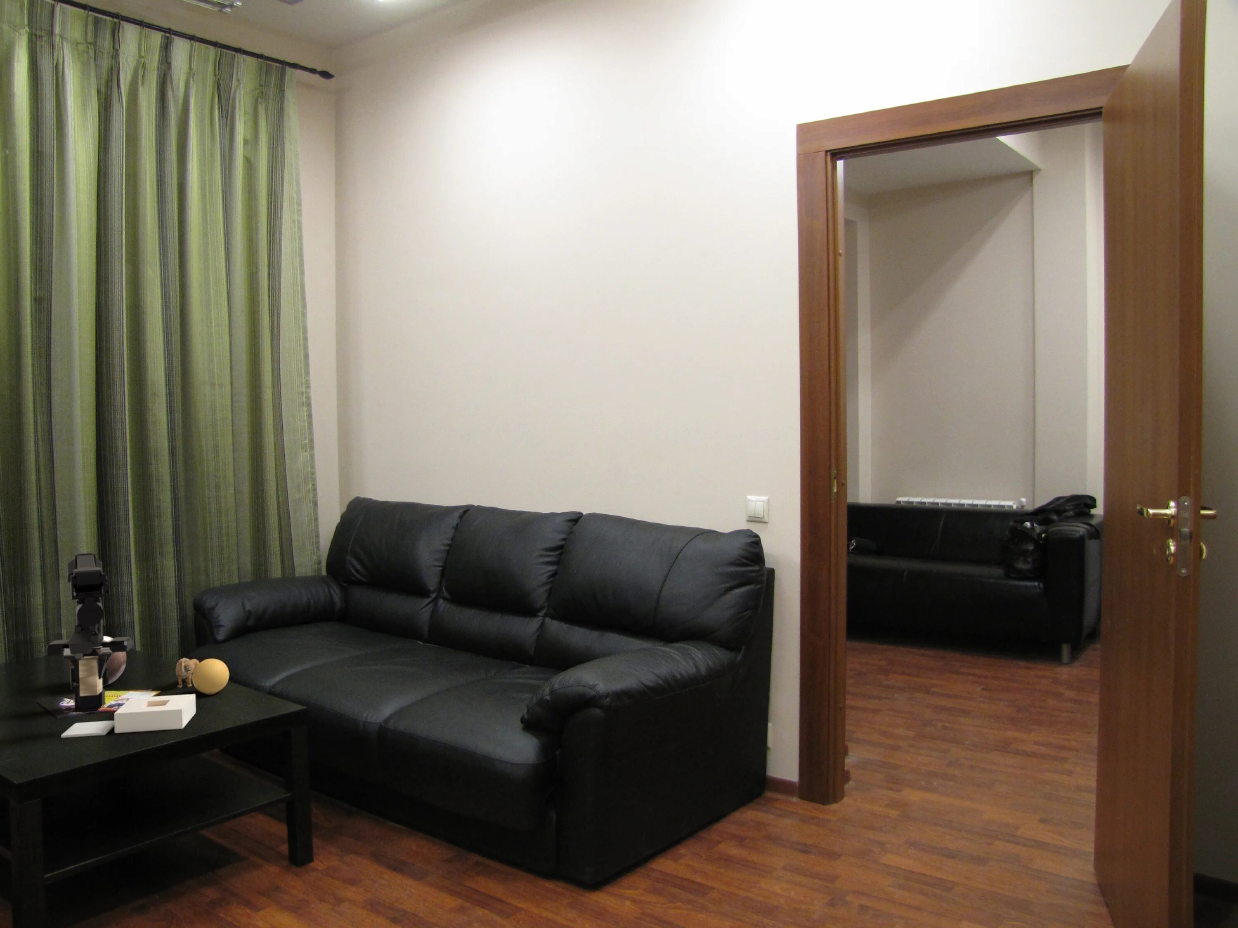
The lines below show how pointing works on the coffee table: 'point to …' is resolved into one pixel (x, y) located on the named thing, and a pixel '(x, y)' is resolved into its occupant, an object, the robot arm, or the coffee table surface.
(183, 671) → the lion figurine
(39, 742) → the coffee table surface
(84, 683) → the wooden block
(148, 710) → the breaker housing
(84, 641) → the robot arm
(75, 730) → the mat
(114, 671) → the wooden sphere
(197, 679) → the stress ball
